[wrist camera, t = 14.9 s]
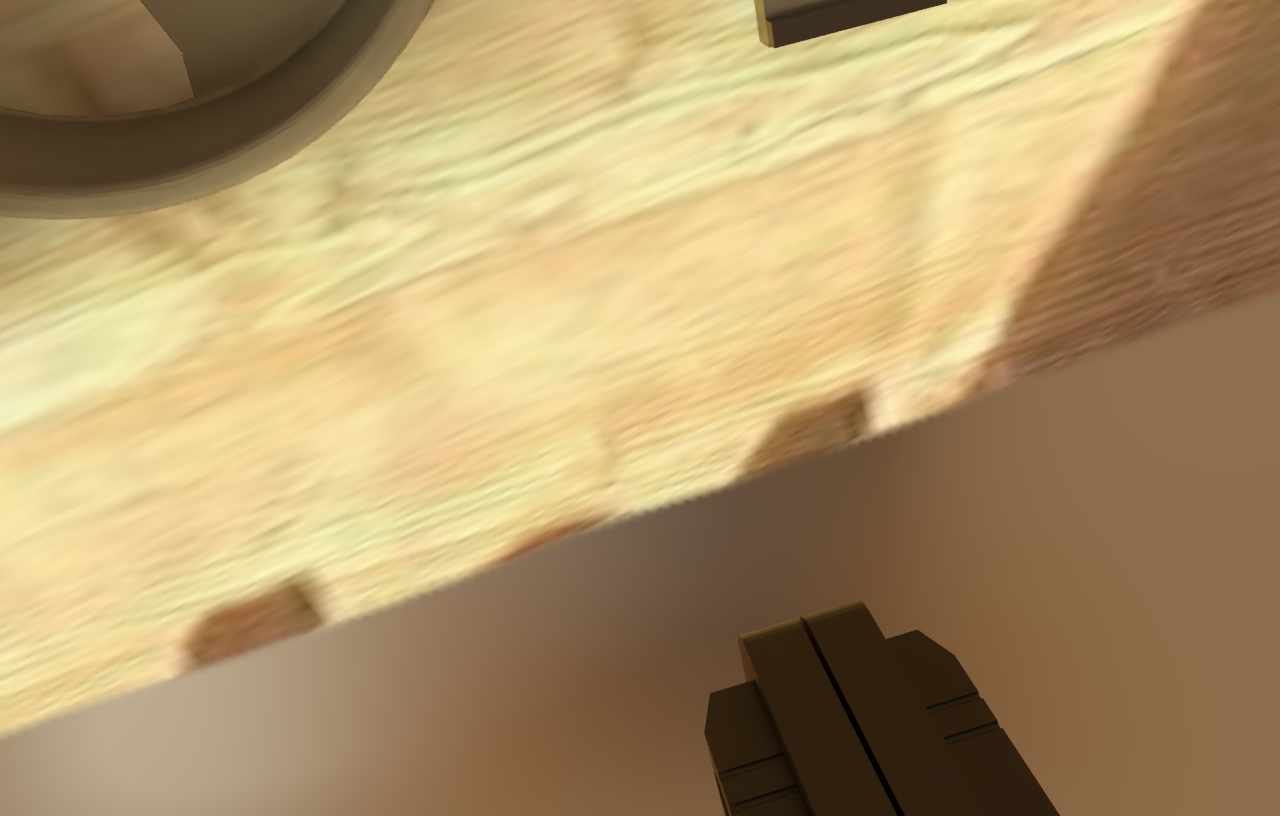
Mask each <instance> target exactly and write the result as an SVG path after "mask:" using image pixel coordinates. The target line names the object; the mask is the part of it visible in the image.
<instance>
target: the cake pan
mask: <svg viewBox="0 0 1280 816" xmlns="http://www.w3.org/2000/svg"><path fill="white" fill-rule="evenodd" d="M140 1H141V2H142V3H143V4H144V6H145V7H146V8H147V9H148V11H149V12H150V13H151V14H152V16H153V17H154V18H155V19H156V21H157V22H158V23H159V24H160V26H161V27H162V28H163V29H164V31H165V32H166V33H167V34H168V35H169V37H170V38H171V39H172V40H173V42H174V43H175V44H176V45H177V47H178V48H179V49H180V50H181V52H182V53H183V59H184V62H185V66H186V69H187V72H188V76H189V79H190V82H191V85H192V89H193V92H194V95H195V98H192V99H190V100H187V101H184V102H181V103H179V104H176V105H173V106H170V107H167V108H163V109H156V110H149V111H142V112H135V113H128V114H121V115H114V116H107V117H78V116H48V115H40V114H35V113H29V112H23V111H17V110H11V109H7V108H2V107H0V216H3V217H14V218H23V219H50V220H59V219H86V218H98V217H111V216H122V215H132V214H140V213H144V212H148V211H155V210H159V209H162V208H167V207H171V206H175V205H179V204H183V203H187V202H190V201H193V200H197V199H200V198H203V197H206V196H209V195H212V194H216V193H218V192H221V191H223V190H226V189H228V188H231V187H233V186H236V185H238V184H241V183H243V182H245V181H247V180H249V179H251V178H253V177H255V176H257V175H259V174H261V173H264V172H266V171H268V170H270V169H272V168H273V167H275V166H277V165H279V164H280V163H281V162H283V161H285V160H288V159H290V158H292V157H293V156H294V155H295V154H297V153H298V152H299V151H301V150H302V149H303V148H305V147H306V146H308V145H309V144H311V143H312V142H314V141H315V140H317V139H318V138H319V137H321V136H322V135H323V134H324V133H325V132H327V131H328V130H329V129H330V128H331V127H333V126H334V125H335V124H336V123H337V122H338V121H340V120H341V119H342V118H343V117H344V116H345V115H346V114H348V113H349V112H350V111H351V110H352V109H353V108H354V107H355V106H356V105H357V104H358V103H359V102H360V101H361V100H362V99H363V98H364V97H365V96H366V95H367V94H368V93H369V92H370V91H371V90H372V89H373V88H374V87H375V85H376V84H377V83H378V82H379V81H380V79H381V78H382V77H383V76H384V75H385V73H386V72H387V71H388V70H389V69H390V67H391V66H392V64H393V63H394V61H395V60H396V58H397V57H398V56H399V55H400V53H401V52H402V51H403V50H404V49H405V47H406V46H407V44H408V43H409V41H410V40H411V38H412V36H413V35H414V33H415V32H416V30H417V28H418V27H419V25H420V23H421V22H422V20H423V19H424V17H425V16H426V14H427V13H428V11H429V9H430V7H431V5H432V3H433V1H434V0H140Z"/></svg>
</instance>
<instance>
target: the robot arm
mask: <svg viewBox="0 0 1280 816" xmlns="http://www.w3.org/2000/svg"><path fill="white" fill-rule="evenodd" d="M738 644H739V650H740V655H741V660H742V664H743V669H744V674H745V679H746V683H743V684H739V685H736V686H733V687H730V688H726V689H723V690H720V691H716V692H714V693H710V698H709V705H708V713H707V719H706V725H705V733H704V734H705V738H706V742H707V746H708V750H709V754H710V757H711V762H712V766H713V770H714V774H715V778H716V782H717V787H718V791H719V795H720V799H721V803H722V807H723V811H724V815H725V816H1060V815H1059V814H1058V812H1057V810H1056V809H1055V807H1054V806H1053V804H1052V803H1051V801H1050V800H1049V798H1048V797H1047V795H1046V794H1045V792H1044V791H1043V789H1042V788H1041V786H1040V785H1039V783H1038V781H1037V780H1036V779H1035V777H1034V776H1033V774H1032V772H1031V771H1030V769H1029V768H1028V766H1027V765H1026V763H1025V762H1024V760H1023V759H1022V757H1021V756H1020V754H1019V753H1018V751H1017V750H1016V748H1015V746H1014V745H1013V744H1012V742H1011V740H1010V739H1009V737H1008V736H1007V734H1006V733H1005V731H1004V730H1003V729H1002V728H1000V727H999V725H998V722H997V719H996V718H995V716H994V715H993V713H992V712H991V710H990V708H989V707H988V706H987V704H986V702H985V701H984V699H983V698H982V699H981V698H980V696H979V693H978V690H977V689H976V687H975V686H974V684H973V683H972V681H971V680H970V678H969V677H968V675H967V674H966V672H965V670H964V669H963V668H962V666H961V664H960V663H959V661H958V660H957V658H956V657H955V655H953V654H952V653H950V652H949V651H947V650H946V649H945V648H943V647H942V646H940V645H939V644H937V643H936V642H935V641H933V640H932V639H930V638H929V637H927V636H926V635H924V634H923V633H922V632H920V631H919V630H915V631H911V632H908V633H905V634H902V635H899V636H895V637H892V638H888V639H885V637H884V636H883V634H882V632H881V631H880V629H879V627H878V625H877V624H876V622H875V620H874V619H873V617H872V615H871V614H870V612H869V610H868V609H867V607H866V606H865V604H864V603H863V602H862V601H861V600H855V601H852V602H849V603H845V604H842V605H839V606H835V607H832V608H829V609H826V610H822V611H819V612H815V613H812V614H809V615H806V616H802V617H800V621H799V620H798V619H793V620H790V621H787V622H784V623H780V624H777V625H774V626H770V627H767V628H764V629H760V630H757V631H754V632H750V633H747V634H744V635H740V636H738Z"/></svg>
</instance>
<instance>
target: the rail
mask: <svg viewBox="0 0 1280 816" xmlns="http://www.w3.org/2000/svg"><path fill="white" fill-rule="evenodd" d="M946 3H947V0H755V6H756V14H757V21H758V29H759V36H760V42H762V43H763V44H765V45H766V46H768V47H773V48H777V47H781V46H785V45H789V44H793V43H797V42H800V41H804V40H808V39H812V38H816V37H820V36H823V35H827V34H831V33H835V32H839V31H842V30H846V29H850V28H854V27H858V26H862V25H865V24H869V23H873V22H877V21H881V20H885V19H888V18H892V17H896V16H900V15H904V14H908V13H911V12H915V11H919V10H923V9H927V8H930V7H934V6H938V5H942V4H946Z"/></svg>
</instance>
